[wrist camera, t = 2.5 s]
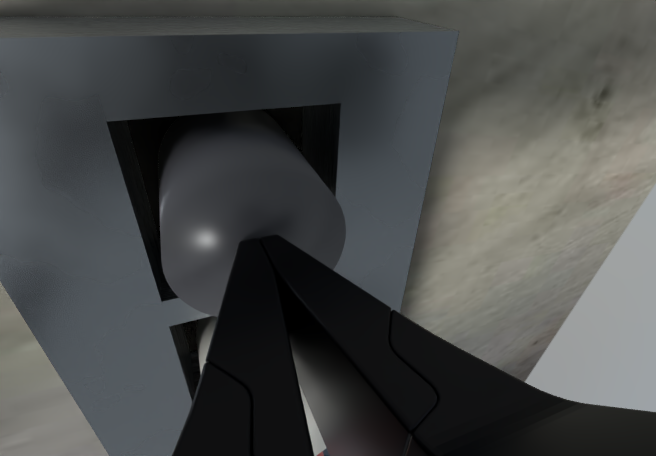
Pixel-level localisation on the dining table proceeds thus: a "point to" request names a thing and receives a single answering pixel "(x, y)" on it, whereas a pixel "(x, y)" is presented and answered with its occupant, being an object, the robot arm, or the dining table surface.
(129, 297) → the panel
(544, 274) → the dining table surface
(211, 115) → the dark gray button
